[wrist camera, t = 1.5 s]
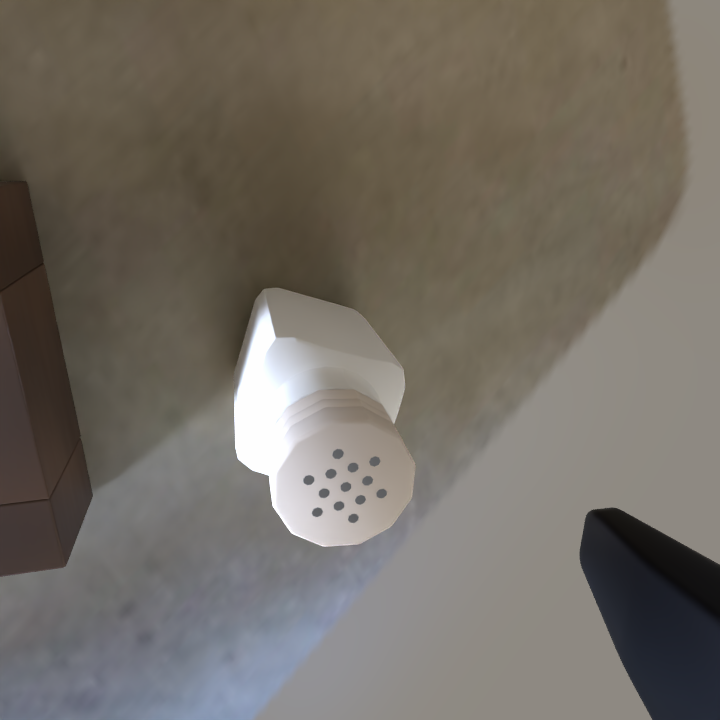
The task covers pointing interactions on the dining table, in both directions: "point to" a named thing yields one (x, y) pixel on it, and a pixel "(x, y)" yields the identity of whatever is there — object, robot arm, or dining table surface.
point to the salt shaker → (322, 418)
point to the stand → (34, 406)
